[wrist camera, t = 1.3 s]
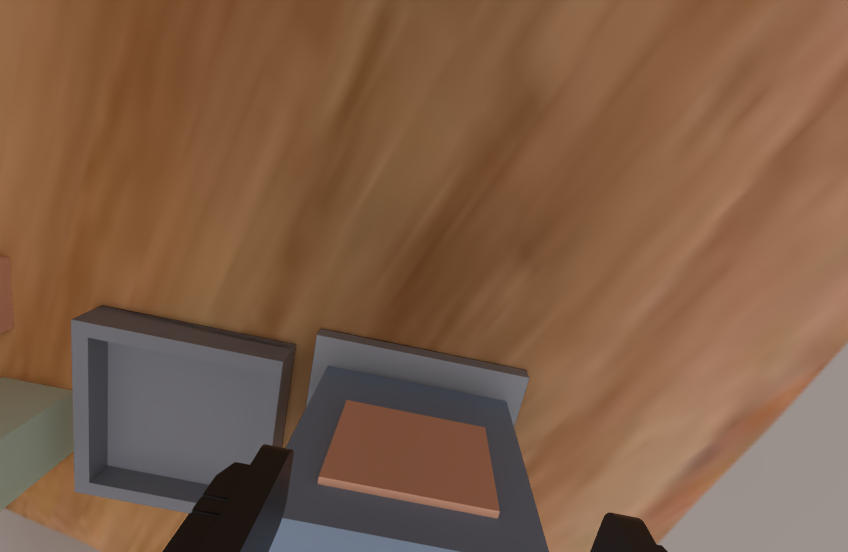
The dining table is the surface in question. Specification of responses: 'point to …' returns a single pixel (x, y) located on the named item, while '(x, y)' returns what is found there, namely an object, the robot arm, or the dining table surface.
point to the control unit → (407, 454)
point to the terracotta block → (5, 296)
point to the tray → (170, 404)
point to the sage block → (32, 434)
